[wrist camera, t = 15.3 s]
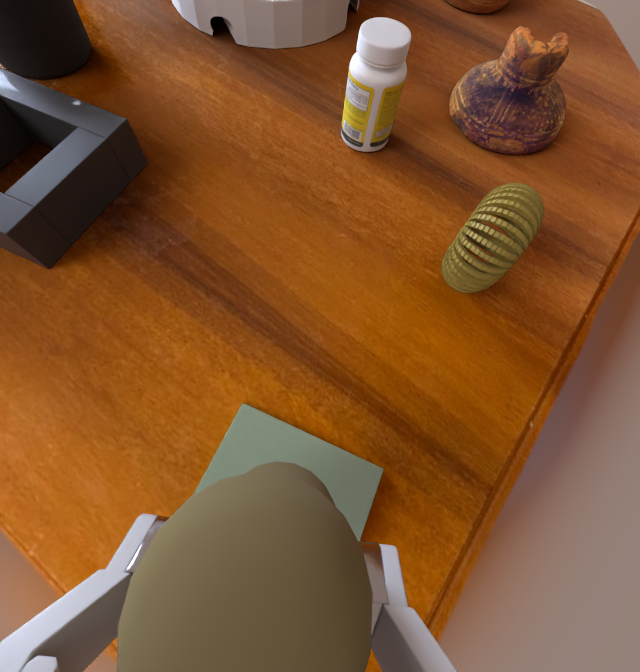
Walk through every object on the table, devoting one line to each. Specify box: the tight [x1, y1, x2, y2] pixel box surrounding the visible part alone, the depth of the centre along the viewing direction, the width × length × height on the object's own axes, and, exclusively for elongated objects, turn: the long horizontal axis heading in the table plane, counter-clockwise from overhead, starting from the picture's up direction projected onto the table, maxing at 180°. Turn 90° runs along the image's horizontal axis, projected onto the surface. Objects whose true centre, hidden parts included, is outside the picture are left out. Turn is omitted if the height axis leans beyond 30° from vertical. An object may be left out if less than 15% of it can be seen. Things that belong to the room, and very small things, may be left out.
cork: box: [117, 461, 373, 672], centre depth 11 cm, size 6×6×11 cm
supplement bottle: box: [341, 17, 411, 152], centre depth 28 cm, size 5×5×8 cm
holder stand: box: [0, 68, 148, 269], centre depth 25 cm, size 12×12×4 cm
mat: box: [194, 403, 384, 541], centre depth 19 cm, size 10×10×1 cm
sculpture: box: [441, 183, 544, 293], centre depth 23 cm, size 8×4×8 cm, turn 145°
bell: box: [449, 26, 569, 154], centre depth 32 cm, size 12×12×7 cm
